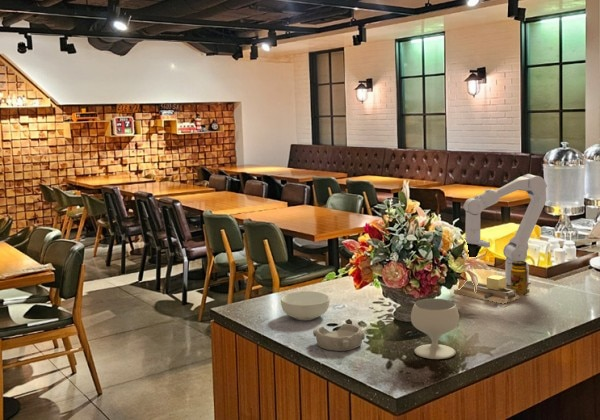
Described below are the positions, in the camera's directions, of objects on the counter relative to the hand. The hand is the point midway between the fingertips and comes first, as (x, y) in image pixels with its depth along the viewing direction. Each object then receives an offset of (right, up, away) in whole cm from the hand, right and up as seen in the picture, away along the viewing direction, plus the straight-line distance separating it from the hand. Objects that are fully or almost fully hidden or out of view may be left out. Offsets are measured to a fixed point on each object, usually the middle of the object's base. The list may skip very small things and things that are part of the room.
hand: (472, 262), depth 280 cm
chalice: (-28, -22, -70) cm, 79 cm away
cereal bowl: (-66, -17, -32) cm, 76 cm away
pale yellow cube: (+5, -9, -16) cm, 20 cm away
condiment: (+16, -11, -9) cm, 21 cm away
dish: (-56, -21, -61) cm, 85 cm away
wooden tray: (+2, -11, -13) cm, 17 cm away
